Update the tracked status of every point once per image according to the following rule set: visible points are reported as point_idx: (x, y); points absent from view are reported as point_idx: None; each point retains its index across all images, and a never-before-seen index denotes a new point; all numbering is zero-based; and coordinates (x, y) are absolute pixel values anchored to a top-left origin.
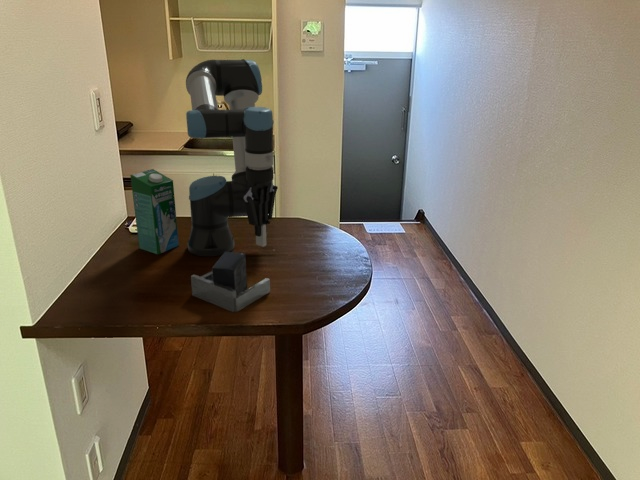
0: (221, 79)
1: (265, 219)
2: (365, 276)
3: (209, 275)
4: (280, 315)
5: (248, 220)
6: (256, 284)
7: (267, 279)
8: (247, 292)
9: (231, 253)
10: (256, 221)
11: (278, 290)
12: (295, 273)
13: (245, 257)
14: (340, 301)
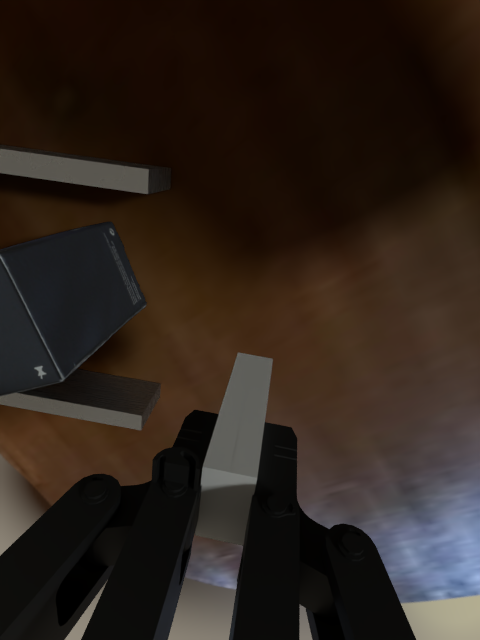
0: None
1: (236, 595)
2: (417, 599)
3: (4, 172)
4: (64, 476)
5: (44, 515)
6: (75, 406)
7: (133, 424)
8: (11, 404)
9: (4, 312)
10: (76, 589)
11: (185, 415)
12: (341, 413)
13: (74, 370)
14: (225, 575)
